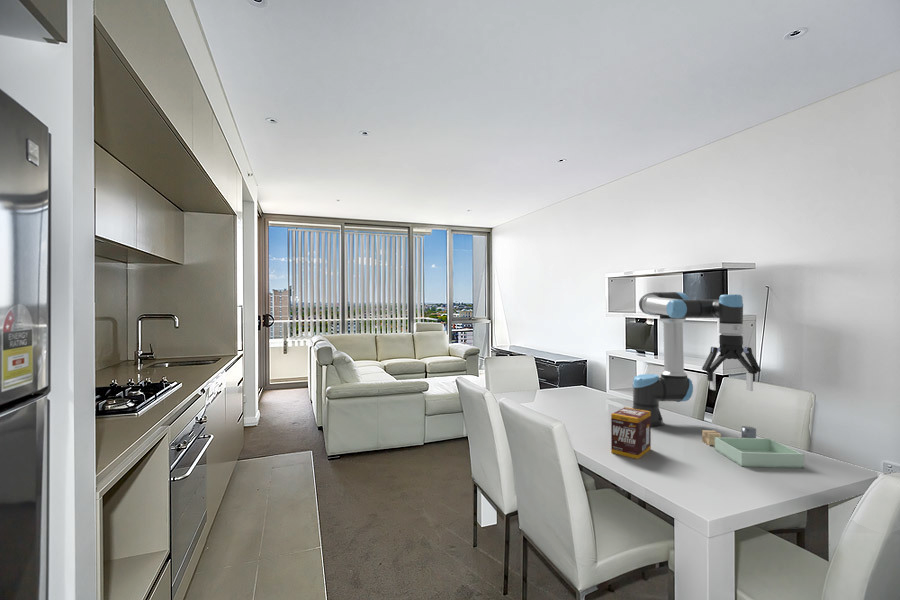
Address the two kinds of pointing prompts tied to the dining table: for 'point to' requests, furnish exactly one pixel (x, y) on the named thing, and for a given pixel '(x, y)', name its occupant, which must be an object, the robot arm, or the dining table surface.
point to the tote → (759, 452)
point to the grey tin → (748, 432)
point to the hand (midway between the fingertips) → (731, 390)
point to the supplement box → (631, 432)
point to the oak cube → (709, 437)
